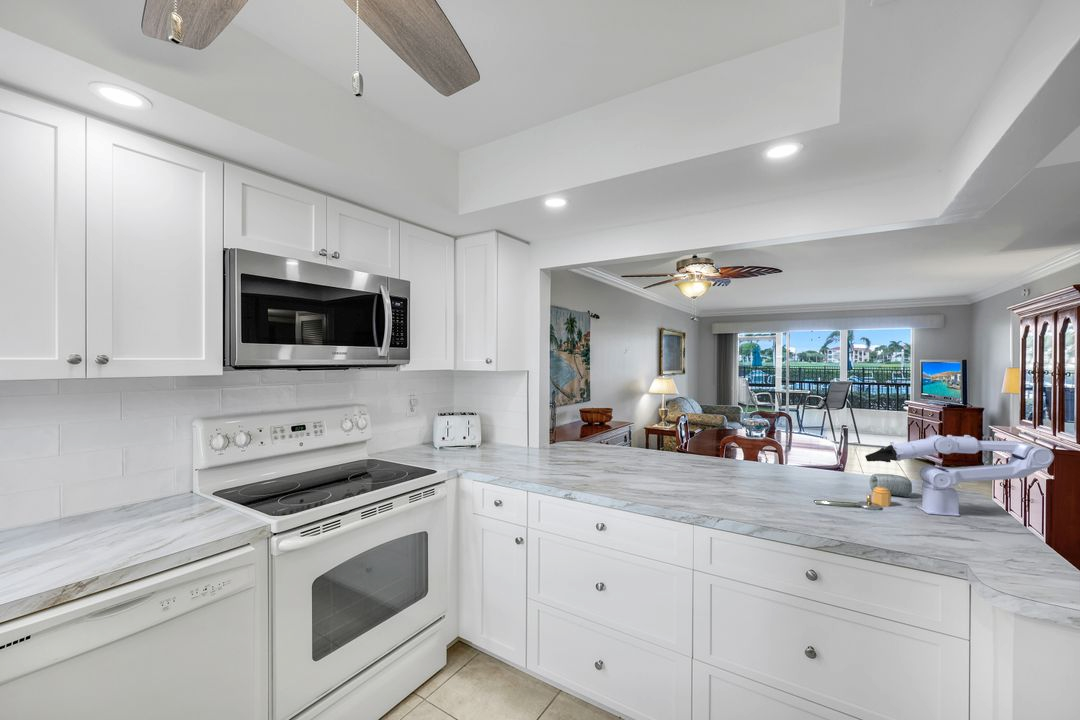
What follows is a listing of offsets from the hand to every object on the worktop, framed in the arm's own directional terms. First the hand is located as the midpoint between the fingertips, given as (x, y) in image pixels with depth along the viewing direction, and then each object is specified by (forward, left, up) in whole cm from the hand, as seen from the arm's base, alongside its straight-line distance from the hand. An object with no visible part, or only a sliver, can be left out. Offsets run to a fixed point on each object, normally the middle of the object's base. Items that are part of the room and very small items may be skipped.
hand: (868, 457), depth 171 cm
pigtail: (+8, +2, -18) cm, 19 cm away
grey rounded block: (-14, -17, -18) cm, 29 cm away
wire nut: (-6, -3, -18) cm, 19 cm away
